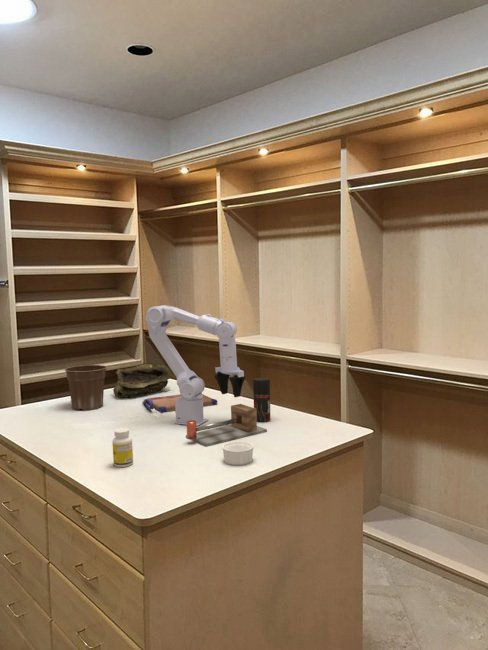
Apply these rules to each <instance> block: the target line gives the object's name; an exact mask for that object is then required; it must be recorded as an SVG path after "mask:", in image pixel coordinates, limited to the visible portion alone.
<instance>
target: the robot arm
mask: <svg viewBox="0 0 488 650" xmlns="http://www.w3.org/2000/svg"><path fill="white" fill-rule="evenodd" d="M144 320H145V321H146V323H147V330H148V336H149V338H150V340H151V341H152V343H153V344H154V345H155V347H156V349H157V350H158V352H159V353H160V355H161V356H162V359H164V360H165V362H166V365H168V368H169V369H170V370H171V371H172V373H173V374H174V376H175V378H176V385H177V386H178V389H179V393H180V394H181V396H182V397H179V398H178V399H177V401H176V405H175V409H176V411H175V422H174V424H177V425H186V426H187V421H189V420H195V421H196V427H199V426H200V425H201V426H202V424H204V423H206V422H208V421H209V418H204V407H203V395H204V394H203V392H204V390H205V386H206V384H205V381H204V380H203V379H202V378H201V377H199V376H198V375H197V374H196V373H195V372H194V371H193V370H191V369H190V368H189V366H188V365H187V364H186V362H185V361H184V359H183V358H182V356H181V355H180V353H179V352H178V350H177V349H176V347H175V346H174V344H173V343H172V341H171V340H170V338H169V337H168V335H167V333H166V332H167V328H168V326H169V324H170V322H171V321H173V320H178V321H182V322H184V323H187V324H191V325H195V326H196V327H197V329H198V330H199V331H202V332H204V333H207V334H211V335H213V336H217V338H218V342H219V343H218V344H219V345H218V346H219V347H218V348H219V359H220V361H219V362H220V366H217V367H216V366H215V367H214V368H215V373H216V374H214V376H213V377H214V379H215V380H216V381H217V384H218V387H219V391H220V393H221V395H226V394H228V392H229V382H230V384H231V387H232V394H233V397H234V398H239V397H241V393H242V388H243V384H244V382H245V380H246V376H245V371H244V370H242V369H240V367H239V366H238V359H237V357H238V356H237V343H236V336H235V335H236V334H237V331H238V329H237V326H236V324H235V323H234V322H232V321H231V320H227V321H225V319H224V318H217V317H214V316H212V314H210V313H206V314H203V315H200V316H199V315H197V314H194V313H191V312H189V311H186V310H185V309H184V310H183V309H181V308H179V307H176V306H173V305H172V306H170V305H168V304H163V305H162V304H161V305H158V306H156V305H155V306H151V307H149V308H148V310H147V312H146V315H145V319H144ZM180 394H179V395H180ZM202 394H203V395H202Z"/></svg>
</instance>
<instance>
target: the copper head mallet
mask: <svg viewBox="0 0 488 650" xmlns="http://www.w3.org/2000/svg"><path fill="white" fill-rule="evenodd" d="M233 423H236V420H235V419H231V418H230V419H227V420H223V421H218V422H213V423H208V424H204V425H201V426H200V425H199V426H196V421H195V420H189V421H187V425H186V435H187V438H186V439H187V440H190V439H196V438H197V433H198V432H202V431H207V430H211V429H216V428H220V427H225V426H229V425H231V424H233Z"/></svg>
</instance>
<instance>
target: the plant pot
mask: <svg viewBox="0 0 488 650" xmlns="http://www.w3.org/2000/svg"><path fill="white" fill-rule="evenodd" d="M107 369H108V367H107V366H106V365H102V364H101V365H100V364H86V365H85V364H84V365H73V366H68V367H66V368H64V371H65V373H66V379H67V381H68V389H69V395H70V403H71V408H72V409H73V410H76V411H80V410H82V411H88V410H89V411H91V410H96V409H100V408H102V407H103V406H104V391H105V377H106V371H107Z"/></svg>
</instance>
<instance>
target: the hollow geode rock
mask: <svg viewBox="0 0 488 650" xmlns="http://www.w3.org/2000/svg"><path fill="white" fill-rule="evenodd" d="M171 371H172V370H171V368H170V367H169V366H167V364H165V363H153V362H145V363H144V362H143V363H140V364H138V365H135V366H131V367H130V366H128V367H125V368H122V367H119V368H118V369H116V371H115V374H116V375H117V377H116V378H117V382H116V384H115V386H114V387H113V389H112V390H113V394H114V396H115V397H117V398H130V397H132V396H133V395H135V394H137V393H140V394H145V393H149V392H150V393H151V392H159V391H161V390H163V389H165V388H166V387H167V385H168V383H169V380H170V379H171V378H172V376H171V375H170V372H171Z"/></svg>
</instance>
